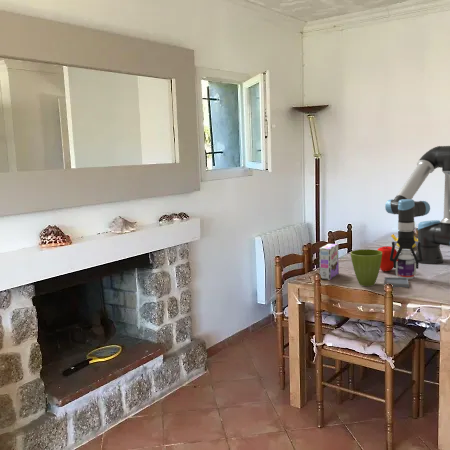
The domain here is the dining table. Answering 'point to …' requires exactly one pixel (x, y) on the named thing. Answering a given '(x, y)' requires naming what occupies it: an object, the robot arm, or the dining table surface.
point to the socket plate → (396, 281)
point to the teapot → (397, 239)
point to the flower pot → (366, 265)
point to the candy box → (328, 261)
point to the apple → (386, 258)
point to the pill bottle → (406, 264)
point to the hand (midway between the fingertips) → (405, 274)
